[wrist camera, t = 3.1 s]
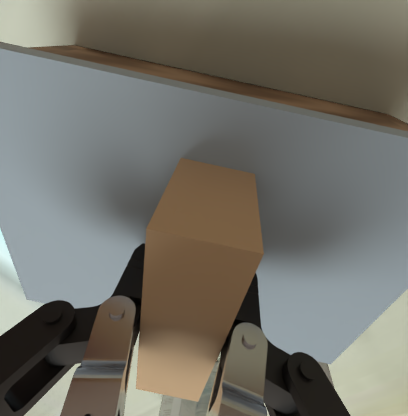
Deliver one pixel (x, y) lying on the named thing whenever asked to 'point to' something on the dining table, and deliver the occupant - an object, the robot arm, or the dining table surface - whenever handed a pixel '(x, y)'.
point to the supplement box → (166, 405)
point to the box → (226, 85)
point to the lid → (198, 209)
